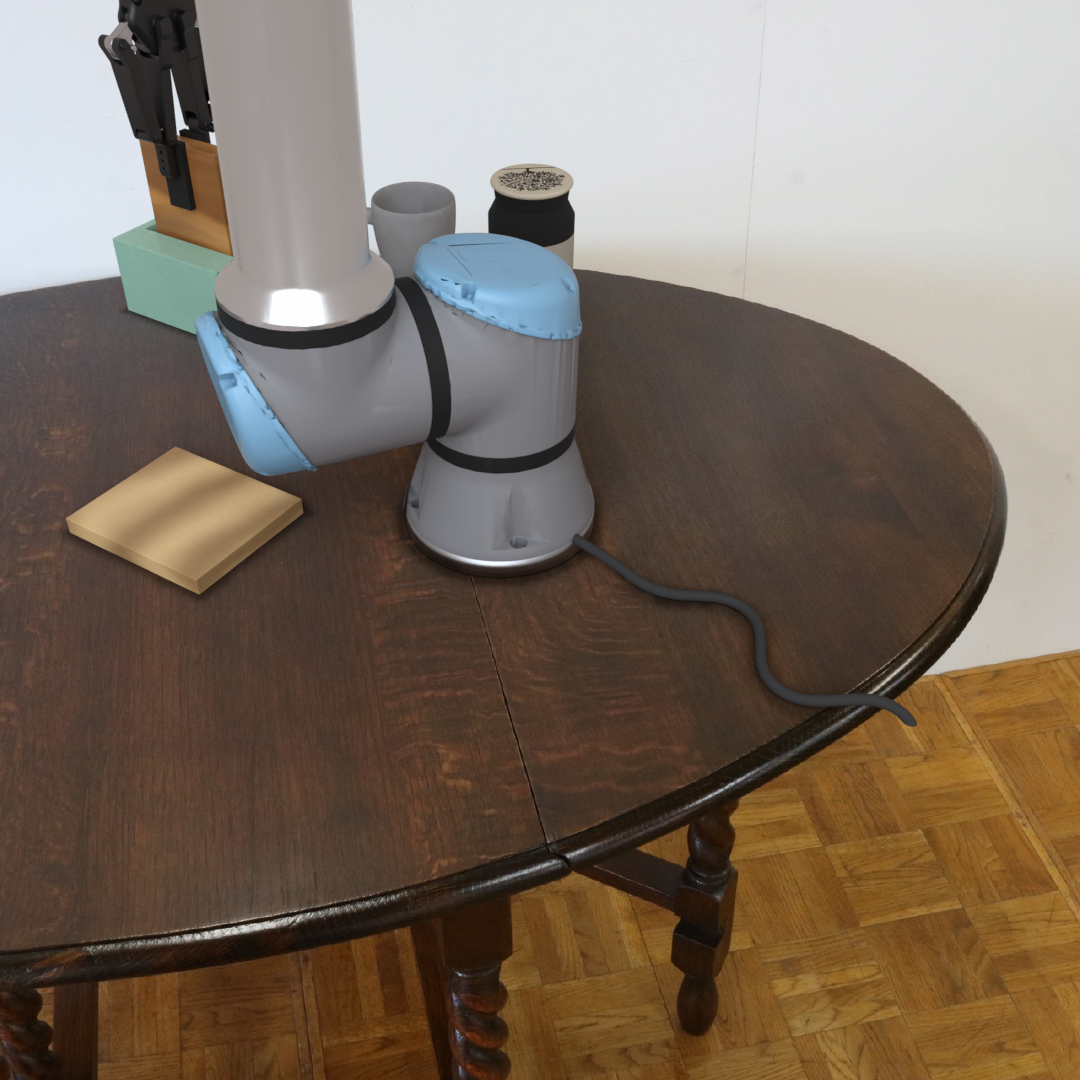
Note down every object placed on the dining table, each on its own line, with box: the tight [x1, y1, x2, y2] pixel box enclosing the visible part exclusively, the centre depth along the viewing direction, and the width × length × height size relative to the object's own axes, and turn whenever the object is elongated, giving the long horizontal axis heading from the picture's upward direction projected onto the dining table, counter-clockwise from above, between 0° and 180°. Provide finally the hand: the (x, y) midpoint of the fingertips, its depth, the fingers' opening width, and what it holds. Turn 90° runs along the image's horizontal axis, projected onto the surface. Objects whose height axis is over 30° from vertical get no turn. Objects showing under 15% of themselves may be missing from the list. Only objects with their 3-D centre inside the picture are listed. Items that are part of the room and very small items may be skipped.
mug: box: [366, 181, 457, 279], centre depth 127 cm, size 12×9×10 cm
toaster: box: [112, 218, 234, 335], centre depth 122 cm, size 10×16×8 cm, turn 59°
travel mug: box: [487, 163, 576, 272], centre depth 112 cm, size 8×8×18 cm
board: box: [65, 446, 304, 596], centre depth 95 cm, size 14×12×2 cm
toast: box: [138, 134, 234, 257], centre depth 117 cm, size 2×10×12 cm, turn 58°
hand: (193, 201), depth 117 cm, fingers closed on toast, 2 cm apart
